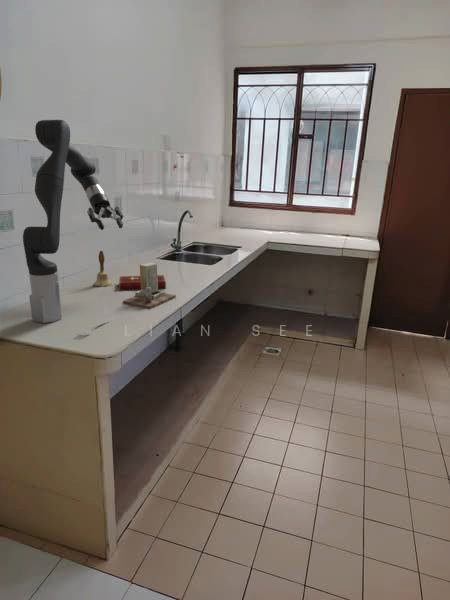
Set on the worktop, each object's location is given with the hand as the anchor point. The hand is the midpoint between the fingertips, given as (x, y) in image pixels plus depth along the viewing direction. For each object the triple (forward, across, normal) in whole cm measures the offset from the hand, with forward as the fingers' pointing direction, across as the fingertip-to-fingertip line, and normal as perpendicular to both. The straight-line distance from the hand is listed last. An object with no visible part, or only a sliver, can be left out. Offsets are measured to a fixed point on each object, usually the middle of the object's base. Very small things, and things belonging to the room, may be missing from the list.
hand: (112, 228), depth 178 cm
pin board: (+33, +6, +8) cm, 34 cm away
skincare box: (+29, +8, +8) cm, 31 cm away
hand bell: (+8, +3, +33) cm, 34 cm away
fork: (+43, -24, -2) cm, 50 cm away
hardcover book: (+18, +16, +23) cm, 33 cm away
